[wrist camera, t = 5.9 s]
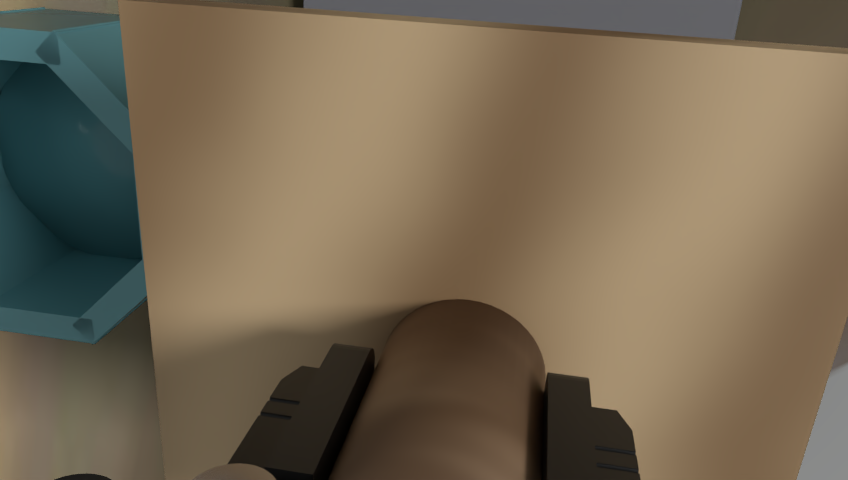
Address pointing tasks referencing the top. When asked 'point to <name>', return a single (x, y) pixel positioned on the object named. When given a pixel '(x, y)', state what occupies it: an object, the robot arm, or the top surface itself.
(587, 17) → the mat
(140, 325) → the top surface
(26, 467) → the top surface
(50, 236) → the bowl
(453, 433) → the lid
